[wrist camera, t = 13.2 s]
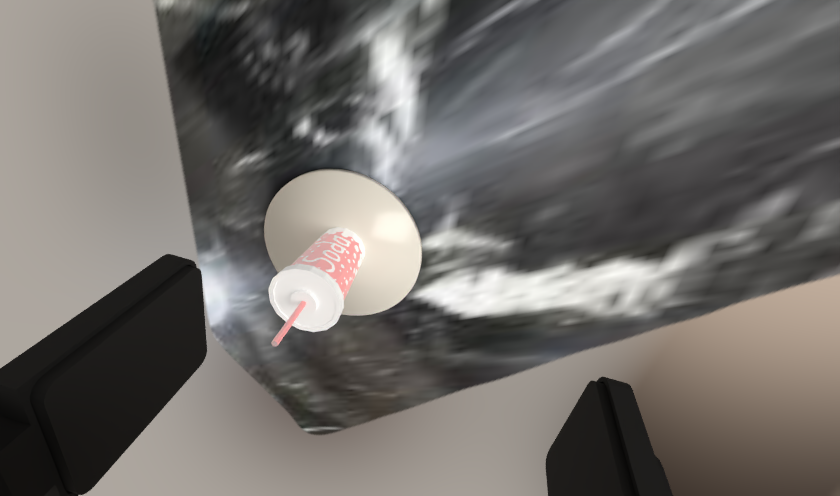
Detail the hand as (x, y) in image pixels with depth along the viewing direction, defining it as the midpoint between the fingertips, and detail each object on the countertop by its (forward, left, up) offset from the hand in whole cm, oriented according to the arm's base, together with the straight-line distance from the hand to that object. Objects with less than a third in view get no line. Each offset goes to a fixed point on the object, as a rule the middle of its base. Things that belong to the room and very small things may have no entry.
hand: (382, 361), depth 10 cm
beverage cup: (+15, -9, -27) cm, 32 cm away
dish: (+15, -9, -28) cm, 33 cm away
